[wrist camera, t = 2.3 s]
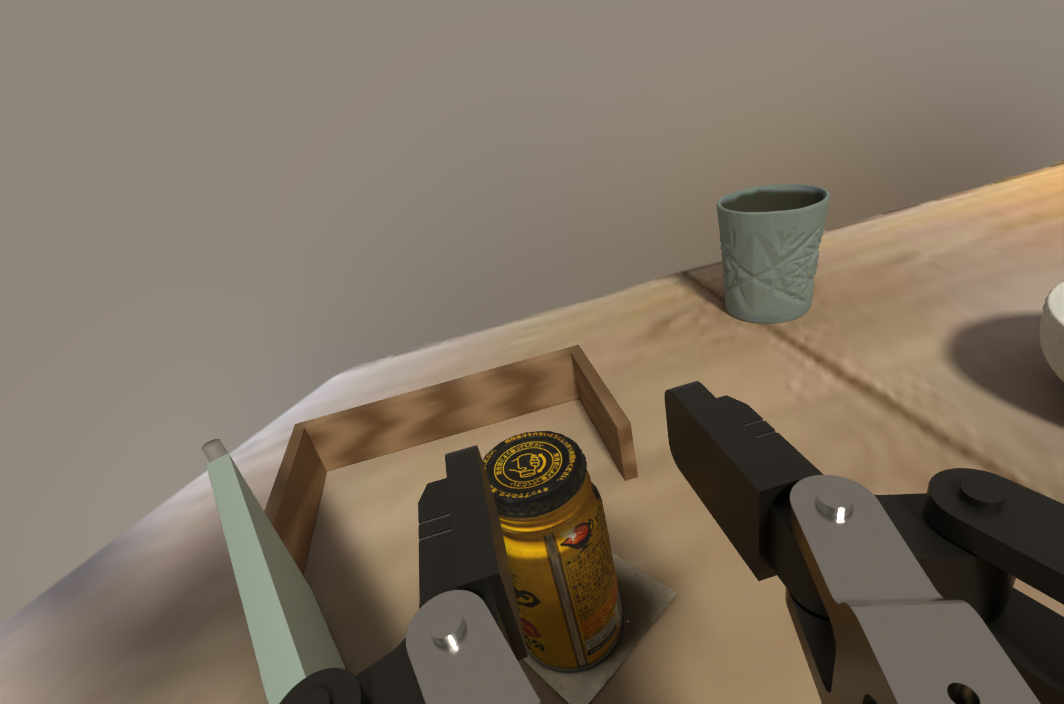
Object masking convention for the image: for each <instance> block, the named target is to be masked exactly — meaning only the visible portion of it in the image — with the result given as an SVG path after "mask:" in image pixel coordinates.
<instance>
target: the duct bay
mask: <svg viewBox="0 0 1064 704" xmlns="http://www.w3.org/2000/svg"><path fill="white" fill-rule="evenodd" d="M578 398H580V399H581V401H582V403H583V405H584V407H585V409H586V410H587V412H588V414H589V416H590V418H591V419H592V421H593V423H594V425H595V427H596V428H597V430H598V432H599V434H600V436H601V438H602V439H603V441H604V443H605V445H606V447H607V448H608V450H609V452H610V454H611V456H612V458H613V459H614V461H615V463H616V465H617V467H618V468H619V470H620V472H621V474H622V476H623V477H624V479H625V480H628V479H632V478H635V477H638V474H637V467H636V459H635V452H634V445H633V438H632V430H631V423H630V421H629V420H628V418H627V417H626V415H625V414H624V412H623V411H622V409H621V408H620V406H619V405H618V403H617V402H616V400H615V399H614V397H613V396H612V394H611V393H610V391H609V390H608V388H607V387H606V385H605V384H604V382H603V381H602V379H601V378H600V376H599V375H598V373H597V372H596V370H595V369H594V367H593V366H592V364H591V363H590V361H589V360H588V358H587V357H586V355H585V354H584V352H583V351H582V349H581V348H580V346H579V345H576V346H572V347H569V348H565V349H562V350H558V351H554V352H551V353H547V354H544V355H540V356H537V357H533V358H529V359H526V360H522V361H519V362H515V363H512V364H508V365H505V366H501V367H497V368H494V369H490V370H487V371H483V372H480V373H476V374H472V375H469V376H465V377H462V378H458V379H455V380H451V381H448V382H444V383H440V384H437V385H433V386H430V387H426V388H423V389H419V390H415V391H412V392H408V393H405V394H401V395H398V396H394V397H390V398H387V399H383V400H380V401H376V402H373V403H369V404H366V405H362V406H358V407H355V408H351V409H348V410H344V411H341V412H337V413H333V414H330V415H326V416H323V417H319V418H316V419H312V420H309V421H305V422H301V423H298V424H295V426H294V429H293V432H292V435H291V437H290V440H289V443H288V446H287V449H286V452H285V454H284V457H283V460H282V463H281V466H280V468H279V471H278V474H277V477H276V480H275V482H274V485H273V488H272V491H271V494H270V497H269V499H268V502H267V505H266V508H265V511H264V512H265V514H266V516H267V517H268V519H269V521H270V522H271V524H272V526H273V527H274V529H275V530H276V532H277V534H278V535H279V537H280V539H281V540H282V542H283V544H284V545H285V547H286V548H287V550H288V552H289V553H290V555H291V557H292V558H293V560H294V562H295V563H296V565H297V567H298V568H299V570H300V571H301V573H302V575H303V574H304V569H305V565H306V561H307V556H308V552H309V547H310V543H311V539H312V534H313V530H314V525H315V521H316V517H317V512H318V508H319V503H320V499H321V495H322V490H323V486H324V481H325V477H326V473H327V471H330V470H333V469H337V468H340V467H344V466H347V465H350V464H354V463H357V462H361V461H364V460H368V459H371V458H375V457H378V456H381V455H385V454H388V453H392V452H395V451H399V450H402V449H406V448H409V447H413V446H416V445H419V444H423V443H426V442H430V441H433V440H437V439H440V438H444V437H447V436H450V435H454V434H457V433H461V432H464V431H468V430H471V429H475V428H478V427H482V426H485V425H488V424H492V423H495V422H499V421H502V420H506V419H509V418H513V417H516V416H519V415H523V414H526V413H530V412H533V411H537V410H540V409H544V408H547V407H550V406H554V405H557V404H561V403H564V402H568V401H571V400H575V399H578Z"/></svg>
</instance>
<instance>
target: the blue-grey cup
mask: <svg viewBox="0 0 1064 704" xmlns="http://www.w3.org/2000/svg"><path fill="white" fill-rule="evenodd" d="M829 198H830V195H829V193H828V191H826V190H825V189H823V188H820V187H816V186H811V185H801V184H780V185H767V186H759V187H753V188H747V189H743V190H740V191H736V192H733V193H730V194H728V195H725V196H724V197H722V198H721V199H720V200H719V201H718V202H717V213H718V222H719V230H720V242H721V250H722V254H721V255H722V261H723V270H724V274H723V275H724V290H725V292H726V294H725V304H726V309H727V311H728V313H729V314H730V315H731V316H733V317H734V318H736V319H739V320H742V321H745V322H750V323H759V324H772V323H782V322H787V321H791V320H794V319H797V318H799V317H801V316H803V315H804V314H805V313H807V312H808V310H809V308H810V305H811V300H812V294H813V288H814V280H813V278H814V276H815V274H816V268H817V265H818V258H819V251H818V248H819V244H820V242H821V238H822V235H823V229H824V224H825V218H826V213H827V208H828V203H829Z"/></svg>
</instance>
